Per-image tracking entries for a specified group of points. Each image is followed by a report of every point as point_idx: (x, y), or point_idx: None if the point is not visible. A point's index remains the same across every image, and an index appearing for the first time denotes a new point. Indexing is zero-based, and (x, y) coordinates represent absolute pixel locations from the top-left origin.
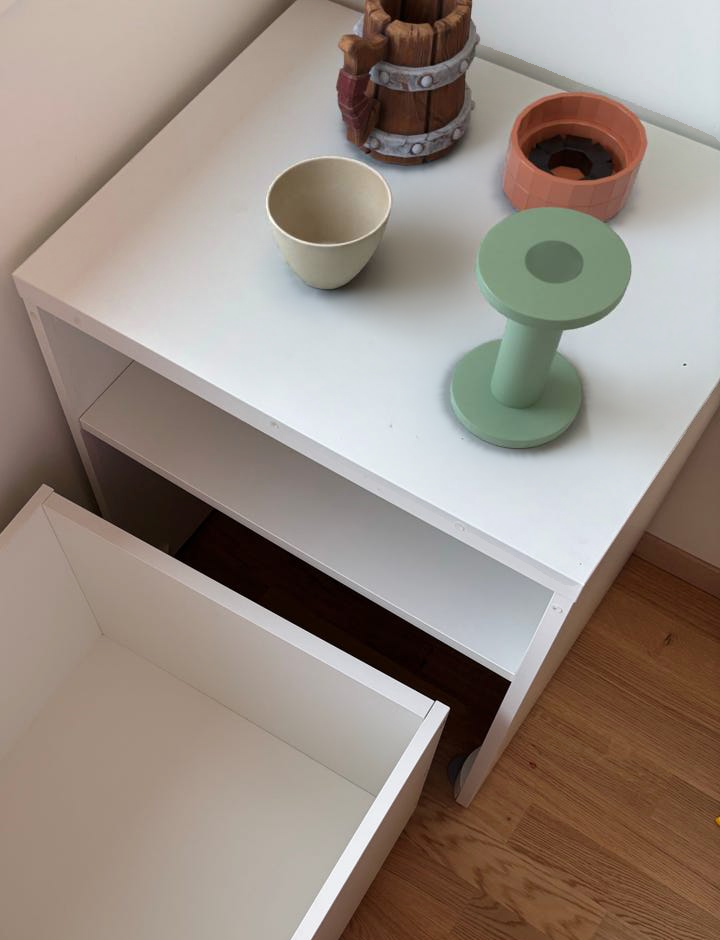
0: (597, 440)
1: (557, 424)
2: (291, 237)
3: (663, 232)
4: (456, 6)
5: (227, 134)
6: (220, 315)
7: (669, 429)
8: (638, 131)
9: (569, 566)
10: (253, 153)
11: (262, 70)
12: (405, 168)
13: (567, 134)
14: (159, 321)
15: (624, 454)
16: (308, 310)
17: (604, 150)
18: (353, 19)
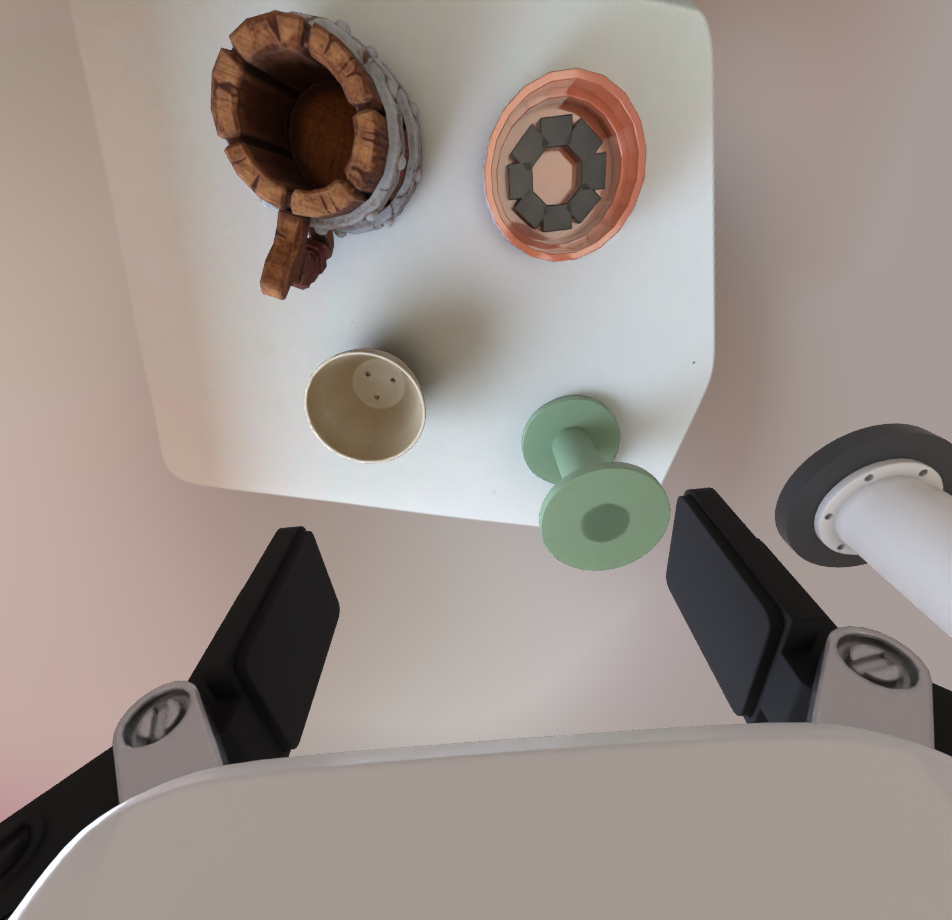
0: (635, 451)
1: (607, 461)
2: (360, 461)
3: (665, 206)
4: (355, 119)
5: (182, 252)
6: (331, 456)
7: (685, 423)
8: (632, 126)
9: None
10: (227, 269)
11: (129, 114)
12: None
13: (541, 118)
14: (294, 478)
15: (655, 454)
16: None
17: (590, 131)
18: None
